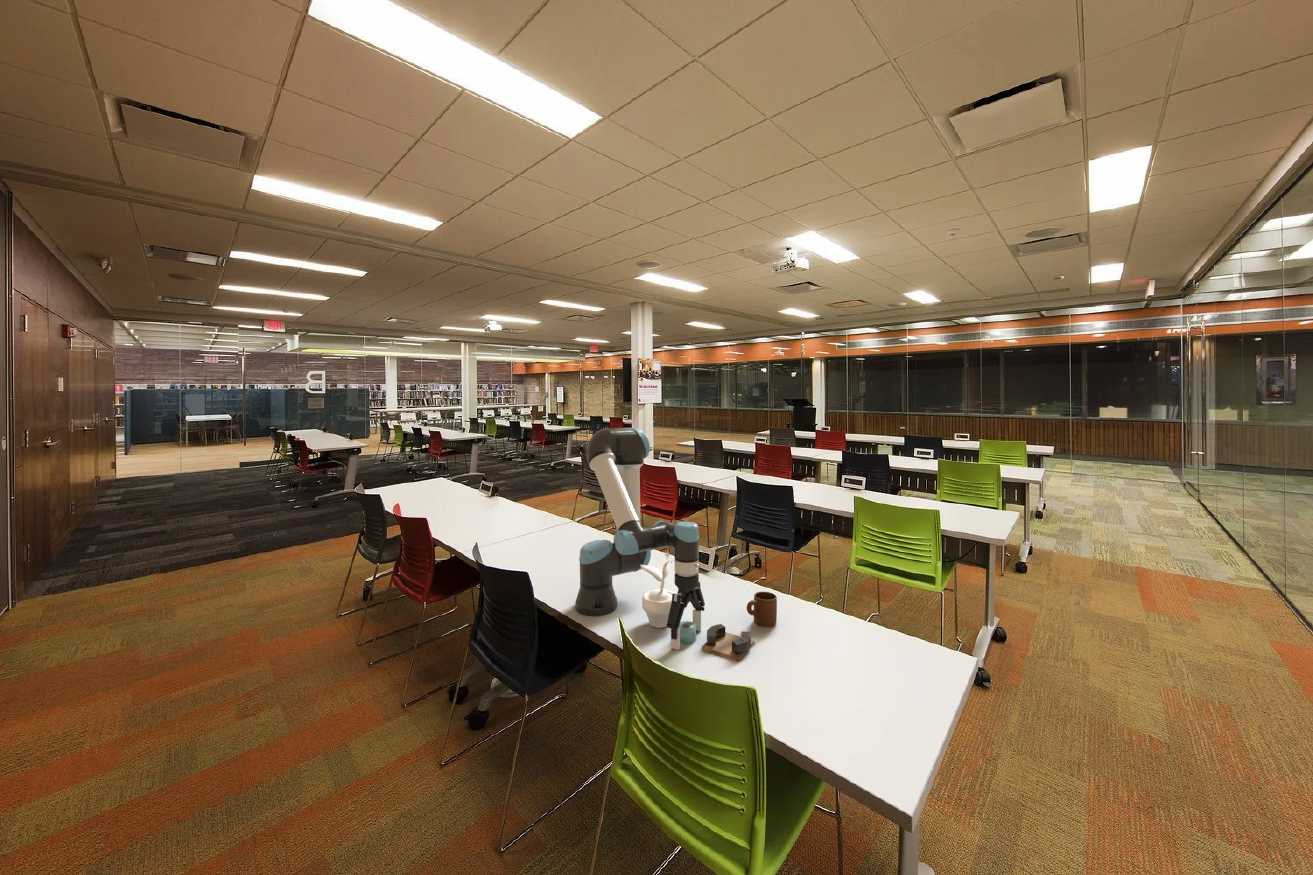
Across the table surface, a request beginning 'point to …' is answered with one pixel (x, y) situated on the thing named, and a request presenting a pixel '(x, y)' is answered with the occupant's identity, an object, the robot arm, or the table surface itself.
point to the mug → (764, 609)
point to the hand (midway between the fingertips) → (686, 639)
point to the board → (726, 647)
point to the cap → (687, 632)
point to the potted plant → (657, 597)
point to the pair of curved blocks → (737, 645)
